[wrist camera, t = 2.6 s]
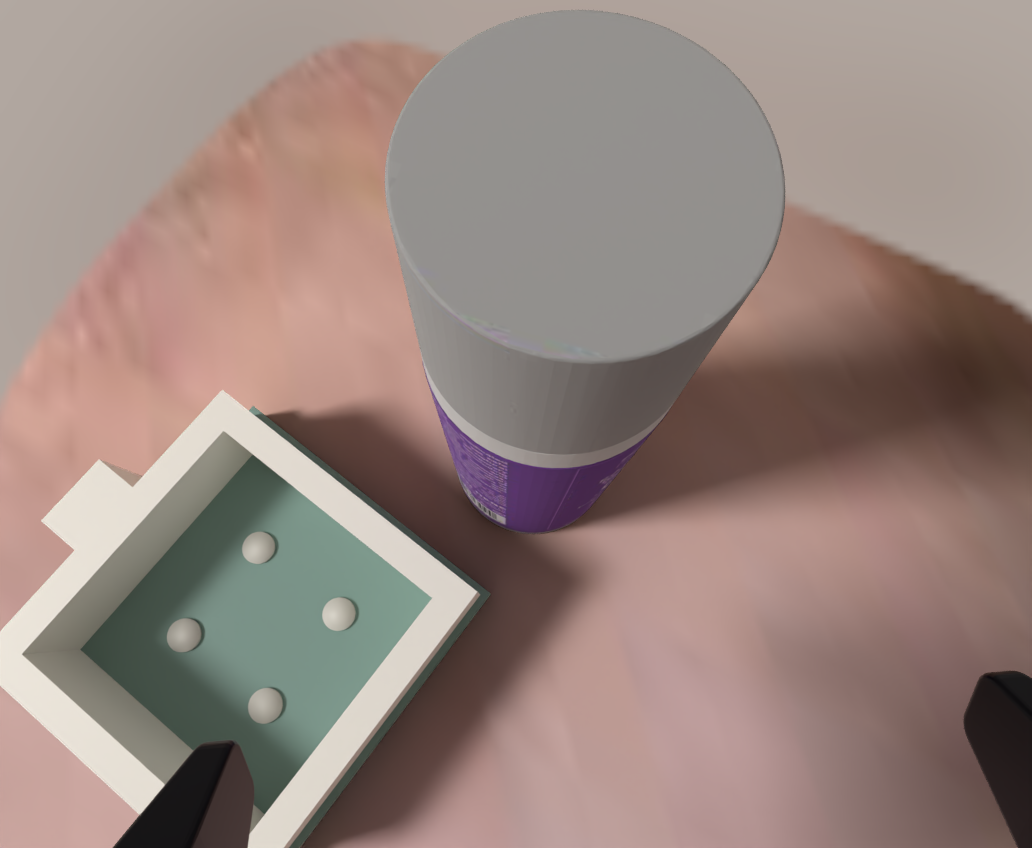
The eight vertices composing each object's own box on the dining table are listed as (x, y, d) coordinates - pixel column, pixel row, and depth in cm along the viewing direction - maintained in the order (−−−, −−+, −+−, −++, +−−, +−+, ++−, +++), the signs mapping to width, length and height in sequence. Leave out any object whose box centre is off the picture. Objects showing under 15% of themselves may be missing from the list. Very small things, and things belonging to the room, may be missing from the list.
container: (606, 538, 22) (811, 385, 7) (451, 531, 22) (351, 362, 7) (607, 390, 23) (787, 9, 9) (461, 383, 23) (391, -11, 9)
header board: (490, 594, 21) (488, 590, 18) (285, 867, 19) (239, 921, 16) (240, 396, 23) (194, 358, 19) (25, 632, 21) (-68, 636, 17)
